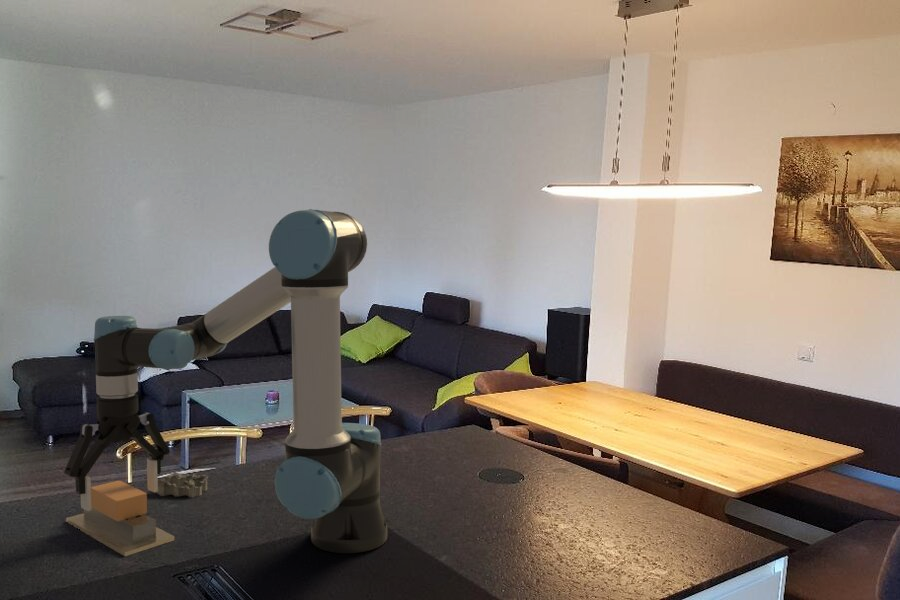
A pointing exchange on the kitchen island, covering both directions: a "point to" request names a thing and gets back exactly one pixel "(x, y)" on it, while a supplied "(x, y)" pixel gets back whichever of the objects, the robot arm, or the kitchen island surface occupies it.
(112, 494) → the orange toy brick
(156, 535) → the beige grey stepped block
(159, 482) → the egg carton
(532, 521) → the kitchen island surface
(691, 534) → the kitchen island surface
